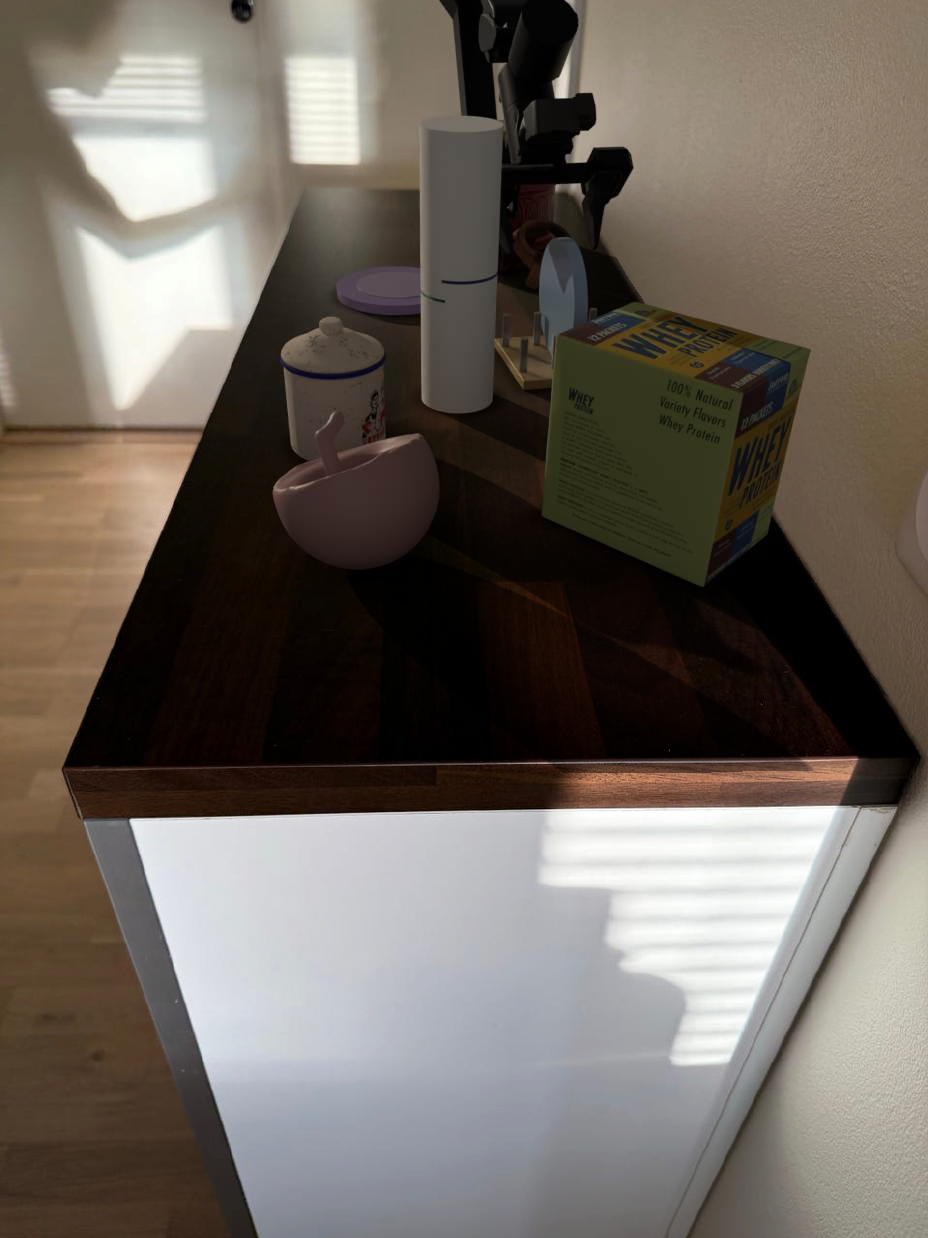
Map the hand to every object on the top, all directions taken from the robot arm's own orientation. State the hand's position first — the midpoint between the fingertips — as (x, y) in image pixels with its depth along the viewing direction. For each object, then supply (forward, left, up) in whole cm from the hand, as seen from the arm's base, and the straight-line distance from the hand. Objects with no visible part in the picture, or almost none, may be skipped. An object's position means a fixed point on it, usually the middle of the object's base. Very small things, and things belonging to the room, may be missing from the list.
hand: (553, 249), depth 103 cm
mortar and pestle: (+45, -9, -11) cm, 47 cm away
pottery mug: (-24, -5, -11) cm, 27 cm away
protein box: (+36, +13, -11) cm, 39 cm away
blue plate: (+4, +2, -4) cm, 6 cm away
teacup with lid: (+26, -16, -11) cm, 32 cm away
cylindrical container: (+15, -7, -11) cm, 20 cm away
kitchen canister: (-40, -10, -11) cm, 43 cm away
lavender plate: (-14, -20, -11) cm, 27 cm away
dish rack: (+4, +2, -11) cm, 12 cm away
